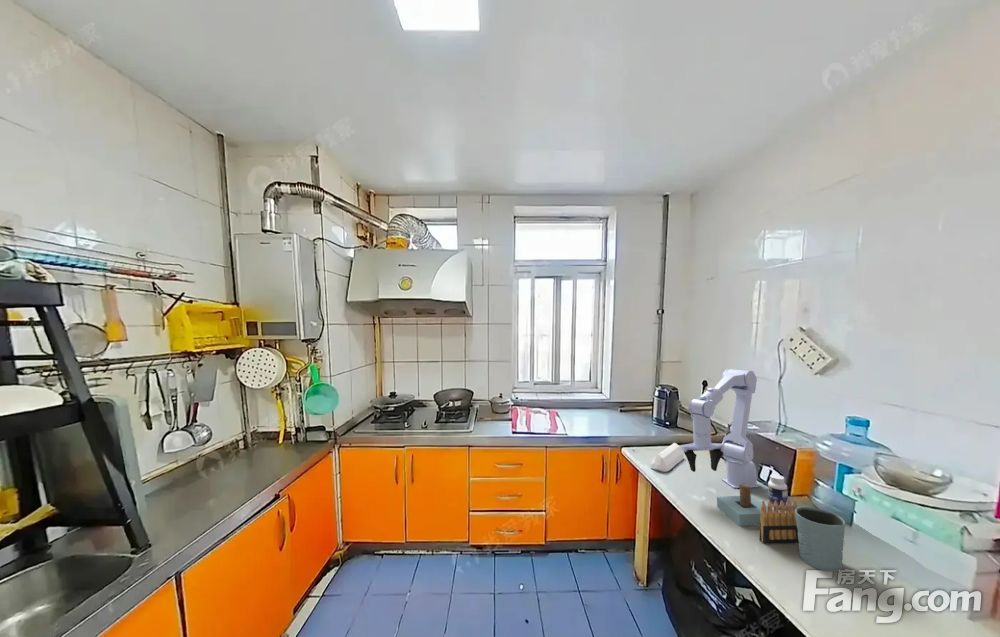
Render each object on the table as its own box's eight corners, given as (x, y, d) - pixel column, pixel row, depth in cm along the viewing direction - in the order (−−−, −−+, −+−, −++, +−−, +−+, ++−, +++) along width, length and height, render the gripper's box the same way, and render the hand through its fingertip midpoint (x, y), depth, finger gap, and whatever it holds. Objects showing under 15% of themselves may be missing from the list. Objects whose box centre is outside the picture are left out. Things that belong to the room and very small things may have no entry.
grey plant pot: (788, 556, 103) (786, 511, 103) (809, 545, 107) (807, 502, 107) (834, 578, 94) (832, 529, 94) (855, 566, 98) (853, 519, 98)
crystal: (670, 466, 158) (689, 450, 175) (655, 454, 162) (675, 440, 179) (661, 479, 160) (681, 462, 177) (647, 467, 164) (667, 452, 182)
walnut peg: (747, 512, 126) (746, 483, 126) (753, 517, 123) (752, 487, 123) (738, 513, 126) (737, 484, 126) (744, 517, 123) (743, 488, 123)
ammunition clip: (763, 544, 108) (762, 502, 109) (759, 540, 110) (757, 499, 110) (801, 543, 108) (800, 501, 108) (796, 539, 110) (795, 498, 110)
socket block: (751, 505, 130) (751, 495, 130) (777, 524, 118) (777, 513, 118) (717, 506, 130) (716, 496, 130) (739, 525, 118) (739, 514, 118)
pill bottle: (764, 503, 132) (763, 475, 132) (774, 500, 134) (773, 472, 134) (781, 510, 127) (780, 481, 127) (791, 506, 129) (790, 477, 129)
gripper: (687, 436, 134) (689, 475, 134) (728, 435, 134) (729, 473, 134) (678, 431, 141) (679, 467, 141) (716, 429, 141) (718, 466, 141)
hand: (703, 470), depth 138 cm, fingers open, 7 cm apart
